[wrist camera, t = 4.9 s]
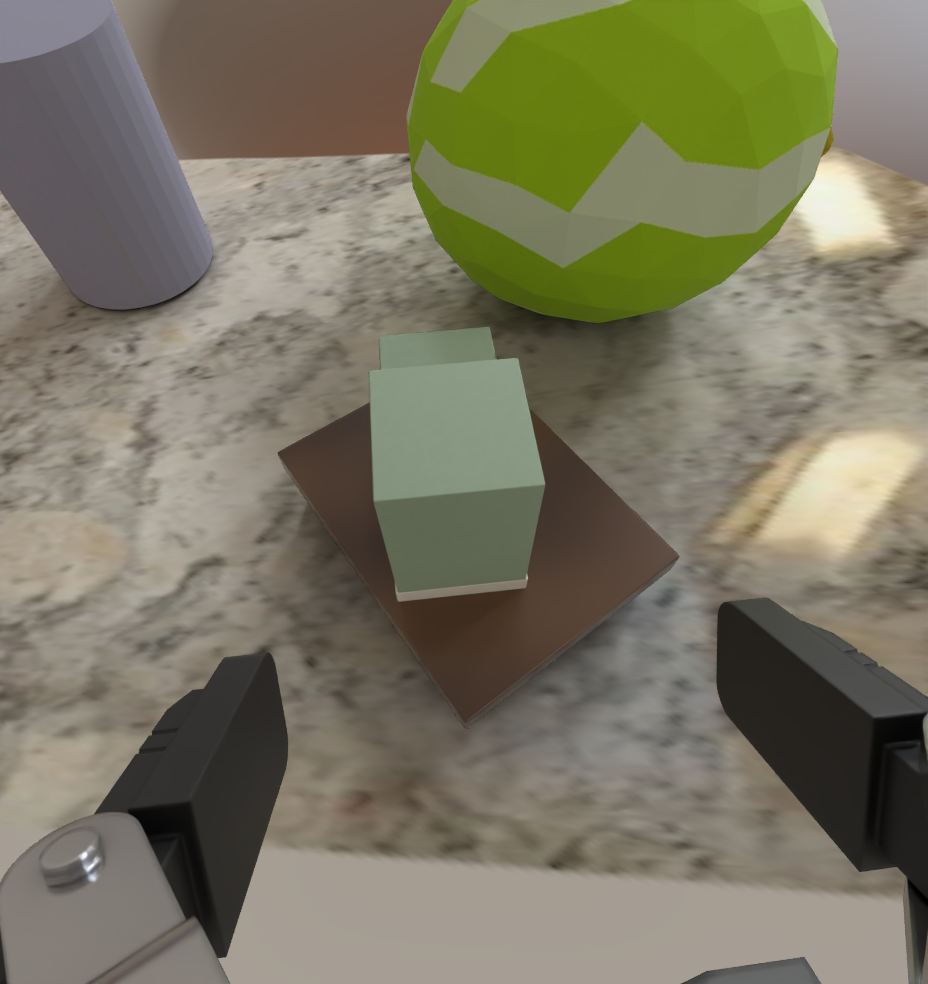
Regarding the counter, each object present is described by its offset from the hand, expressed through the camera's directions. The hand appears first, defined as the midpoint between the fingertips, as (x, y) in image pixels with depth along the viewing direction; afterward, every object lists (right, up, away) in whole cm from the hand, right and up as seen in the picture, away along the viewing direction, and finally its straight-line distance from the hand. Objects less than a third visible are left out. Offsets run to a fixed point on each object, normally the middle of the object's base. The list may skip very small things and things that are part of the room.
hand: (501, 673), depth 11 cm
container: (-24, +20, +33) cm, 46 cm away
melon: (+9, +18, +32) cm, 37 cm away
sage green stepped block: (-1, +4, +18) cm, 19 cm away
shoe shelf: (0, +1, +21) cm, 21 cm away
